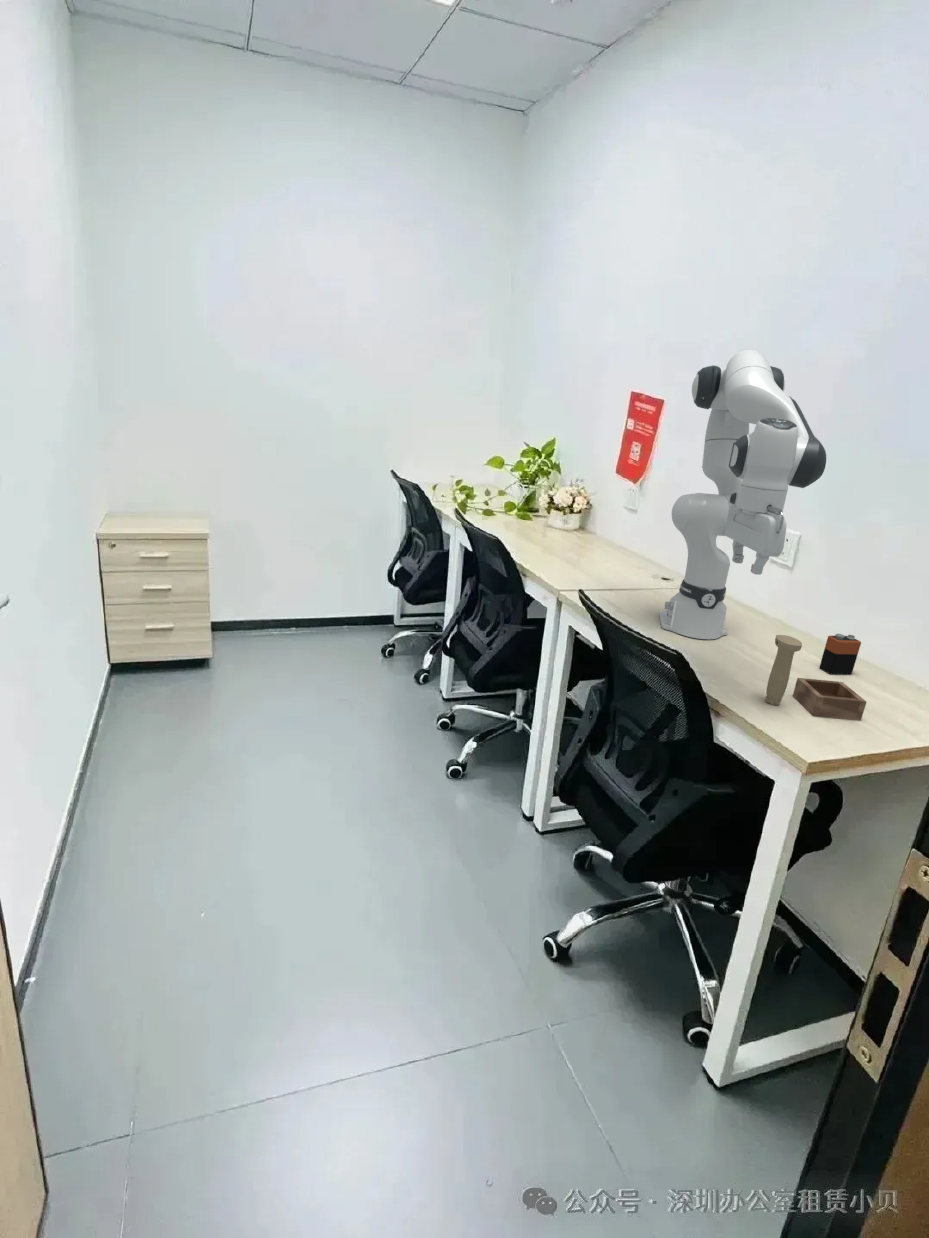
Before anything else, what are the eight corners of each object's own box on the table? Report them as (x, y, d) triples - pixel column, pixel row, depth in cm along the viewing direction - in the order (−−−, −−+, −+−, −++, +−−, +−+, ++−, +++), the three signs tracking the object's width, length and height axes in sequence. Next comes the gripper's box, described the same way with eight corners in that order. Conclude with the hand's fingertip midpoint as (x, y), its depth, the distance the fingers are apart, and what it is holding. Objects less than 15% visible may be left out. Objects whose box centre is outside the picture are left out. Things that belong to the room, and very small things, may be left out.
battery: (818, 668, 179) (828, 631, 176) (840, 668, 180) (851, 632, 177) (829, 674, 175) (840, 638, 172) (852, 675, 176) (863, 638, 173)
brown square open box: (792, 695, 160) (797, 677, 158) (837, 699, 160) (842, 681, 158) (813, 716, 150) (818, 697, 148) (860, 720, 150) (866, 701, 148)
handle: (777, 697, 158) (793, 635, 153) (789, 710, 152) (806, 646, 147) (756, 695, 158) (771, 634, 153) (767, 708, 151) (784, 644, 147)
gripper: (800, 511, 131) (783, 582, 135) (754, 496, 150) (741, 558, 154) (768, 508, 130) (752, 579, 135) (726, 493, 150) (713, 555, 154)
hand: (746, 568), depth 145 cm, fingers open, 8 cm apart
